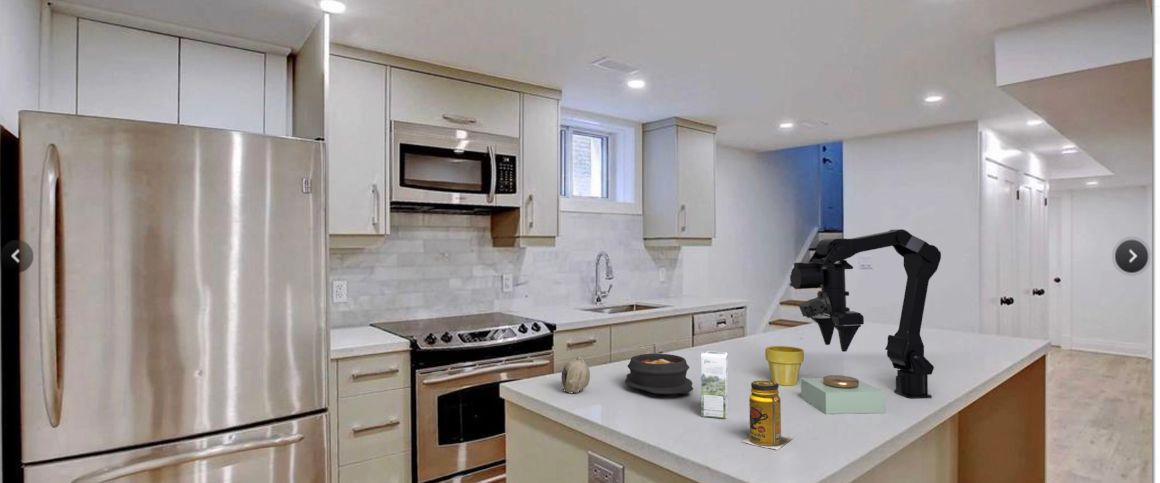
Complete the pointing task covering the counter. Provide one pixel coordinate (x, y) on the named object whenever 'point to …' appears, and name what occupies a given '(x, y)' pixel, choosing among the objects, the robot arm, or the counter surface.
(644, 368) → the casserole
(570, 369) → the garlic bulb
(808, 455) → the counter surface
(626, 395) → the counter surface
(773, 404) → the condiment
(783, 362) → the plant pot
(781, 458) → the counter surface
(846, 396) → the base
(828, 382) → the copper round dome
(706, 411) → the syrup box
